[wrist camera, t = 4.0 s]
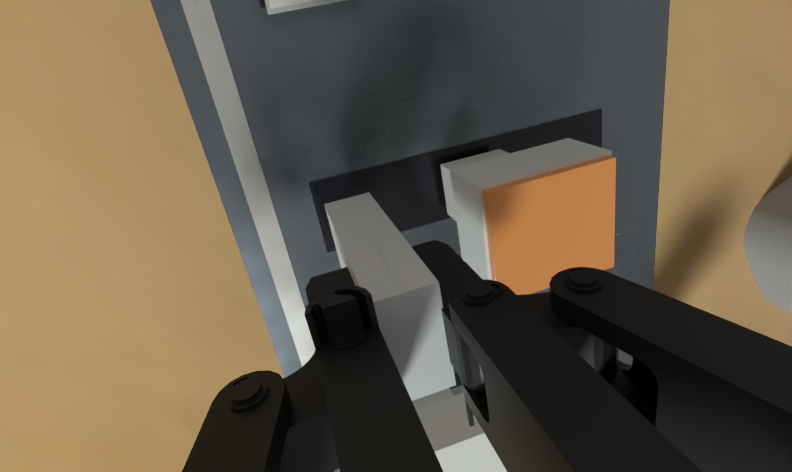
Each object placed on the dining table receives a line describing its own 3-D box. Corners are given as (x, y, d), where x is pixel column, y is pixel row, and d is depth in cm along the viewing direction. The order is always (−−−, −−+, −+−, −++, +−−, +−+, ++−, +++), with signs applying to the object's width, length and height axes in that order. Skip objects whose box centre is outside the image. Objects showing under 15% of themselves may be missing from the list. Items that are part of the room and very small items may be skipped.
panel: (601, -206, 18) (686, -268, 15) (599, 318, 29) (649, 358, 25) (118, -149, 15) (75, -210, 12) (311, 418, 26) (321, 479, 22)
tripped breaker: (517, 123, 18) (619, 153, 13) (523, 211, 19) (616, 268, 14) (416, 148, 17) (483, 190, 12) (430, 238, 18) (495, 308, 13)
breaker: (447, 338, 20) (504, 425, 16) (457, 400, 22) (512, 497, 17) (358, 368, 20) (391, 468, 15) (375, 430, 21) (409, 538, 16)
